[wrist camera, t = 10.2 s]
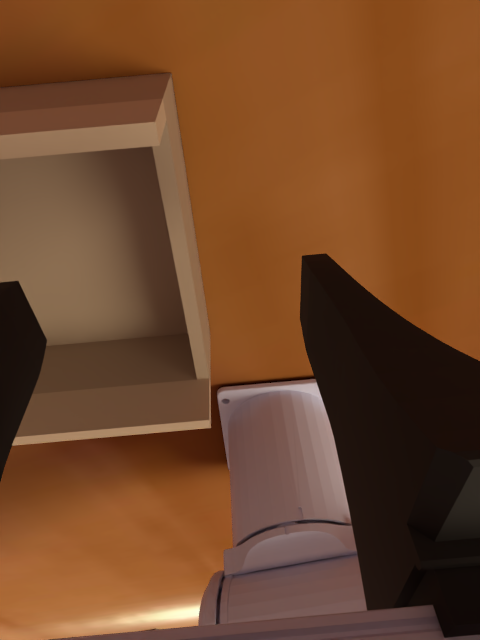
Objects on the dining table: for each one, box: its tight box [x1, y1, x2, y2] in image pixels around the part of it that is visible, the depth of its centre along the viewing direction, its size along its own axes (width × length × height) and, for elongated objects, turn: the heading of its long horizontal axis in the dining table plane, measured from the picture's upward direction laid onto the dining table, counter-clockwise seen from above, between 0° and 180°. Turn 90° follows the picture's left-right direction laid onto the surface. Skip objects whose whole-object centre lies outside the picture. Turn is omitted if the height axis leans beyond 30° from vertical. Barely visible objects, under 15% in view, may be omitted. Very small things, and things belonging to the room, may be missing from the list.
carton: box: [0, 73, 211, 446], centre depth 18 cm, size 13×12×6 cm
